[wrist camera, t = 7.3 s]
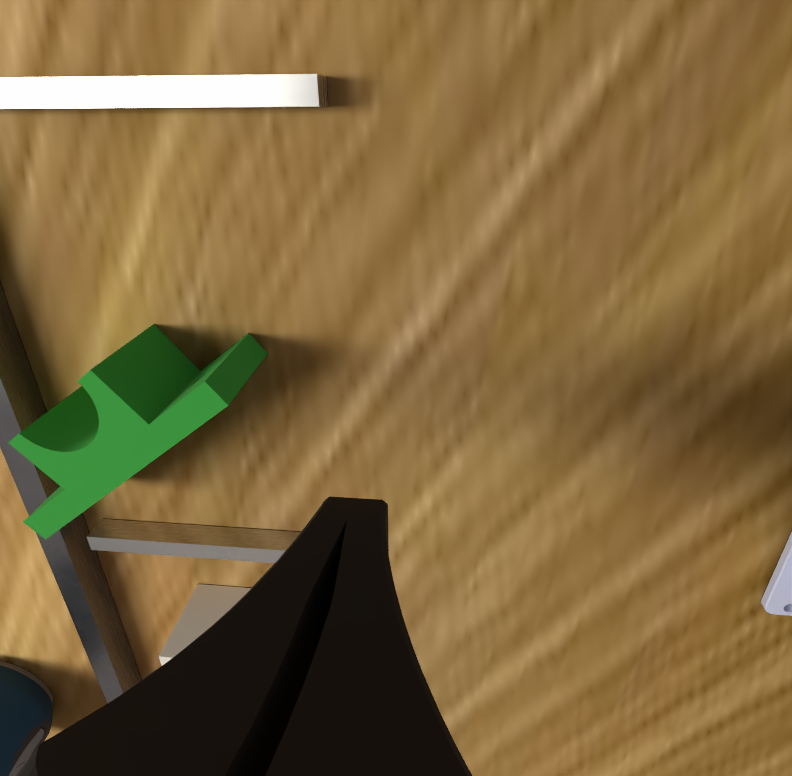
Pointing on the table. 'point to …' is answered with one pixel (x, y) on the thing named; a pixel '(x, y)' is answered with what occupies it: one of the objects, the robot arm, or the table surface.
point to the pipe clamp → (127, 419)
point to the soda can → (21, 716)
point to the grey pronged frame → (22, 405)
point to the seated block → (200, 616)
